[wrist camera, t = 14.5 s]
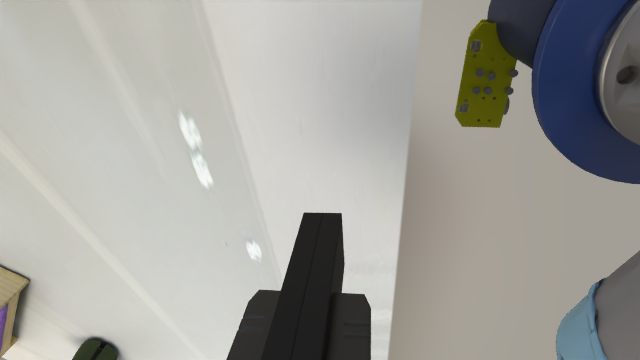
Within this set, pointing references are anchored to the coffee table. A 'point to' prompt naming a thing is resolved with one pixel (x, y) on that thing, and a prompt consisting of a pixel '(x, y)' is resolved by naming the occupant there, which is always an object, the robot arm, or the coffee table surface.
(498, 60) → the yellow toy chassis
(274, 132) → the coffee table surface
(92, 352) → the character mug
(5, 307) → the toy sofa
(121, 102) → the coffee table surface
